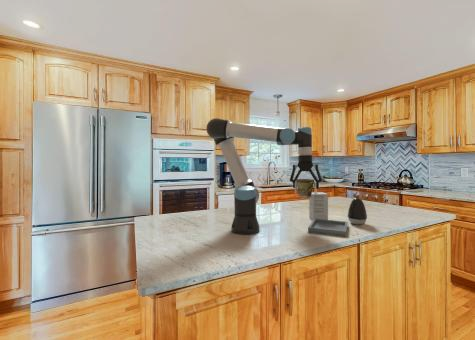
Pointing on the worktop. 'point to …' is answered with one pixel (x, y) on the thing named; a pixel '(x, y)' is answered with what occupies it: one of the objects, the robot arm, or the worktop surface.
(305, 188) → the ceramic cup
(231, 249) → the worktop surface
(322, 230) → the tray
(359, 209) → the dark grey egg shape
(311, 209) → the supplement box
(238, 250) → the worktop surface
